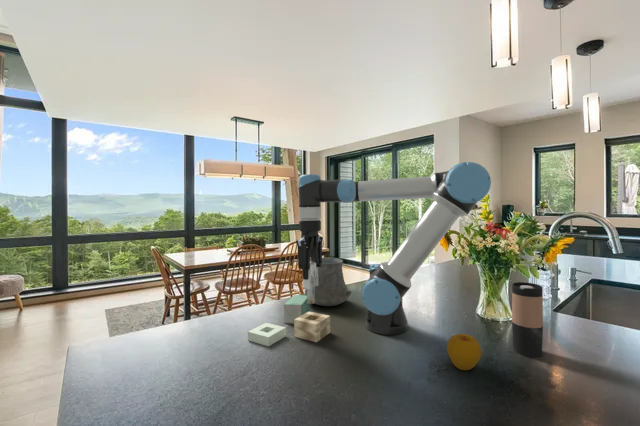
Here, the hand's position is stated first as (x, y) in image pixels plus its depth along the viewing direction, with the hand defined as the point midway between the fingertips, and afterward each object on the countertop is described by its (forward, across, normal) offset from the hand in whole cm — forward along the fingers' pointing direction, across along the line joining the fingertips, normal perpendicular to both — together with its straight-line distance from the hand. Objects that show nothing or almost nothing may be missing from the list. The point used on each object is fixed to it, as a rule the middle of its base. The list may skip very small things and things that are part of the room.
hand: (310, 286), depth 107 cm
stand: (+17, +10, -12) cm, 23 cm away
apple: (+17, -2, +48) cm, 51 cm away
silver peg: (+6, 0, 0) cm, 6 cm away
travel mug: (+17, -21, +63) cm, 69 cm away
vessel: (+17, -32, -12) cm, 38 cm away
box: (+17, -11, -14) cm, 25 cm away
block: (+17, 0, 0) cm, 17 cm away
